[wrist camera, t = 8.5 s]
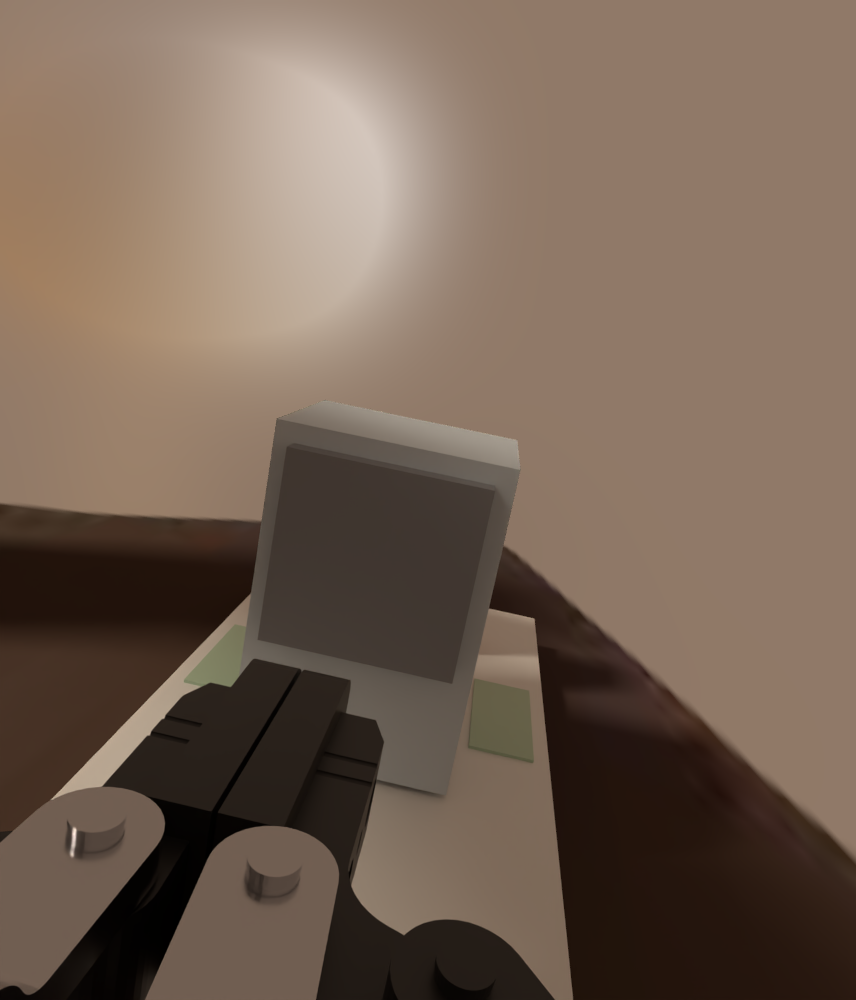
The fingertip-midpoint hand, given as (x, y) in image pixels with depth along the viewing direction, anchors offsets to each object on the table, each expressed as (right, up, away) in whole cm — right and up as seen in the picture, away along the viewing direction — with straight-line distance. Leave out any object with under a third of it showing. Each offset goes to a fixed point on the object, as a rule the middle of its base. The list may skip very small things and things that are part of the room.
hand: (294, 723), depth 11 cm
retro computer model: (0, -3, +11) cm, 12 cm away
